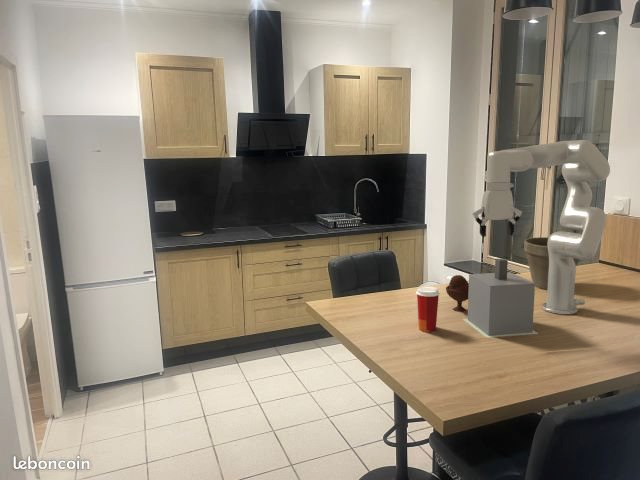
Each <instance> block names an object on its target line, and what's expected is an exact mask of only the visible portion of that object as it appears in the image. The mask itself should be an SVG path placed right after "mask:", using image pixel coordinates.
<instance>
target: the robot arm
mask: <svg viewBox="0 0 640 480" xmlns="http://www.w3.org/2000/svg"><path fill="white" fill-rule="evenodd" d="M486 163H487V164H486V169H487V170H486V190H485V191H483V194H482V198H481V199H482V200H481V205H480V206H481V207H480V208H479V209H478V210H475V211H474V212H473V213H472V216H473V219H474V220H475V222H476V223H478V225H479V235H480V237H483V238H485V237H487V225H486V224H487V223H488V221H492V220H493V221H501V220H507V222H508V223H507V225H506V226H507V227H506V228H507V229H506V231H507V232H506V234H507V235H509V236H513V235H514V232H515V225H516V223H517V222H518V221H519V220H520V217H521V215H522V214H523V211H522V210H520V209H518V208H516V207H514V198H513V193H512V190H511V188H513V187H514V183H511V172H512V173H514V172H516V173H518V172H525V171H528V170H529V169H540V168H541V169H544V168H550V167H554V166H560V165H562V167H561V175H562V176H563V179H564V181H565V183H566V186H567V194H566V199H565V201H564V202H565V203H564V205H563V208H562V211H561V213H560V218H559V224H560V226H561V227H562V228H565V230H566V229H567V230H573V231H580V232H581V233H577V232H569V231H556V232H555V231H554V232H553V233H551V234H550V235H549V238H548V242H547V246H548V253H549V273H548V289H547V290H546V292H547V293H546V302H544V303H542V305H541V307H542V309H543V310H544V311H546V312H549V313H553V314H556V315H574V314H577V313H578V307H577V306H584V305H586V301H585V300H584V299H577V298H575V290H576V289H575V287H576V278H577V277H576V276H577V265H575V262H574V260H573V258H575V259H579V260H581V261H589V260H591V259H593V258H594V257H595V255H596V253H597V251H598V249H599V245H600V244H601V240H602V237H603V234H604V230H605V228H606V224H607V215H606V212H605V211H604V210H603V209H601V208H599V207H595V206H591V202H592V199H593V192H592V189H591V187H590V185H589V184H588V182H591V183H593V182H594V183H597V182H603V181H605V180H606V179H608V177H609V176H610V173H611V166H610V163H609V161H608V160H607V158H606V157H605V156H604V155H603V154H602V152H601V151H600V149H598V147H597V146H596V145H594V143H592V142H591V141H590V140H588V139H587V140H586V139H578V140H562V141H555V142H549V143H542V144H536V145H530V146H524V147H523V146H522V147H517V148H509V149H501V150H499V151H498V150H497V151H495V150H494V151H490V152H489V153H488V154H487V161H486ZM514 213H515V215H514ZM479 215H480V217H481V218H480V217H479Z"/></svg>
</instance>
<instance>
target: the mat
mask: <svg viewBox="0 0 640 480" xmlns="http://www.w3.org/2000/svg"><path fill="white" fill-rule="evenodd" d="M462 320H463V321H464V322H466V323H467V324H468V325H469V326H471V327H472V328H474V330H476V331H477V332H479V333H480V334H481V335H482V336H483V337H485V338H490V339H491V338H500V337H513V336H524V335H525V336H526V335H527V336H528V335H538V334H539V333H538V332H536V331H535V330H532V333H519V334H506V335H493V336H488V335H487V334H485V333H484V332H483V331H482V330H480V329H479V328H478V327H476V326H475V325H474V324H472V323H471V322H470V321H468V318H462Z"/></svg>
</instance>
